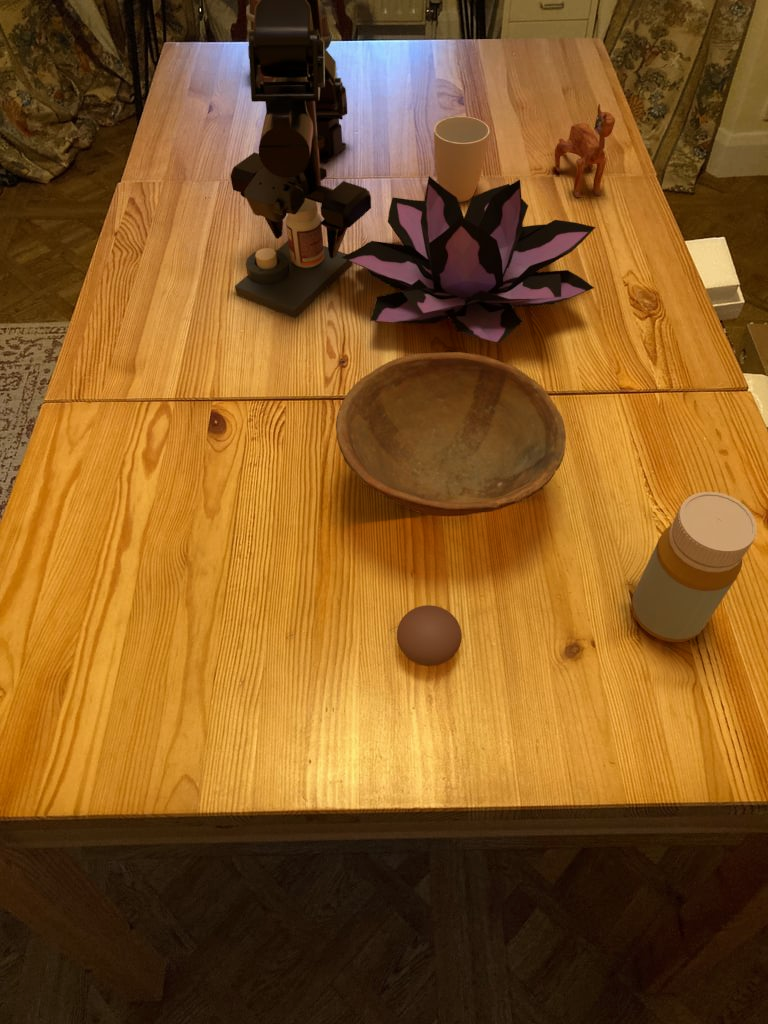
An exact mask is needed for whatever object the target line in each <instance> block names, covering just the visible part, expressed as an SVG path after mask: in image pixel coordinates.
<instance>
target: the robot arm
mask: <svg viewBox="0 0 768 1024" xmlns="http://www.w3.org/2000/svg"><path fill="white" fill-rule="evenodd" d="M320 3H321V0H260V1H259V2H258V4H257V5H256V6H255V14H254V30H251V29H250V30H249V31H248V46H249V56H248V60H249V78H250V98H251V102H253V103H254V102H257V103H258V102H260V103H261V102H262V103H263V102H265V108H266V109H265V115H264V120H263V124H262V128H261V129H262V130H261V134H260V139H259V144H258V152H252V153H251V154H250V155H248V156H247V157H245V158H244V159H243V160H241V161H240V162H239V163H237V164H236V165H234V166H233V167H232V169H231V171H230V175H229V176H230V181H231V188H232V190H233V191H235V192H238V193H240V196H241V197H242V198H244V199H246V201H247V203H248V205H249V207H250V209H251V211H252V214H253V215H255V216H258V217H259V216H260V217H262V218H264V220H265V221H266V223H267V225H268V227H269V229H270V231H271V232H272V234H273V236H274V238H275V239H277V240H279V239H280V238H282V236H283V229H284V219H286V217H287V215H288V213H290V214H293V215H294V214H296V213H297V212H298V210H299V209H300V207H301V206H302V204H303V203H304V201H305V198H306V199H309V200H312V201H315V202H317V204H320V216H321V217H322V218H323V220H321V222H320V223H321V224H322V226H323V227H324V228H326V238H327V247H328V251H329V255H330V258H332V259H333V258H334V257H335V256H336V255H337V253H338V251H340V250H339V249H340V247H341V245H342V243H343V240H344V237H345V235H346V232H347V230H348V229H349V228H351V227H352V226H353V225H354V224H356V222H358V221H359V220H360V219H361V218H362V217H363V216H365V215H366V214H367V212H369V211H370V210H371V209H372V196H371V193H370V191H369V190H368V189H367V188H366V187H363V186H360V185H357V184H354V183H350V182H348V181H345V180H343V181H342V182H341V183H339V184H338V185H337V186H335V187H334V188H331V187H327V186H325V185H322V181H324V179H326V178H327V177H328V173H327V169H326V168H324V167H321V163H322V164H326V163H328V162H330V161H331V160H332V159H333V158H334V157H336V156H337V155H338V154H340V153H342V151H343V150H345V149H346V148H347V144H346V143H345V142H343V130H342V124H340V120H343V118H344V116H346V115H348V97H347V89H346V87H345V86H344V85H343V82H342V77H338V74H337V73H338V72H337V64H336V59H334V58H333V56H332V55H331V53H329V52H328V50H327V49H325V48H324V40H323V29H322V17H321V6H320ZM259 66H260V71H261V74H262V75H263V77H264V78H275V79H274V80H273V82H260V87H258V82H259Z"/></svg>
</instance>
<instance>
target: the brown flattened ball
mask: <svg viewBox="0 0 768 1024" xmlns="http://www.w3.org/2000/svg"><path fill="white" fill-rule="evenodd" d="M462 636H463V634H462V628H461V626H460V623H459V622H458V620H457V618H456V617H455V616H454V615H453V613H451V612H450V611H448V610H447V609H445V608H443V607H440V606H437V605H431V604H429V605H428V604H426V605H420V606H416V607H414V608H412V609H411V610H409V611H407V612H406V614H404V615H403V617H402V618H401V620H400V621H399V623H398V626H397V629H396V642H397V645H398V647H399V650H400V651H401V653H402V654H403V656H405V658H406V659H408V660H409V661H411V662H412V663H414V664H416V665H419V666H423V667H437V666H440V665H443V664H446V663H447V662H449V661H450V660H451V659H453V657H455V655H456V654H457V653H458V651H459V649H460V647H461V645H462V638H463V637H462Z"/></svg>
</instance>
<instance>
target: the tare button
mask: <svg viewBox="0 0 768 1024" xmlns="http://www.w3.org/2000/svg"><path fill="white" fill-rule="evenodd" d="M275 250H276V249H274V248H270V247H263V248H260V249H258V250H257V251H255V252H256V254H255V255H256V262H257V266H258V267H259V268H261V269H270V268H273V267H275V266H276V265H277V256H276V252H275Z"/></svg>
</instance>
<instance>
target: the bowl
mask: <svg viewBox="0 0 768 1024" xmlns="http://www.w3.org/2000/svg"><path fill="white" fill-rule="evenodd" d="M335 432H336V440H337V445H338V447H339V450H340V453H341V456H342V458H343V459H344V461H345V463H346V464H347V465H348V467H349V468H350V469H351V471H352V472H353V473H354V474H355V476H357V478H358V479H359V480H360V481H361V482H363V483H364V484H365V485H366V486H367V487H369V488H370V489H372V490H374V491H375V492H376V493H378V494H380V495H382V496H383V497H385V498H387V499H389V500H391V501H393V502H395V503H397V504H399V505H401V506H402V507H405V508H407V509H409V510H411V511H414V512H417V513H420V514H423V515H427V516H434V517H435V516H437V517H461V516H469V515H475V514H484V513H492V512H495V511H498V510H501V509H504V508H505V509H506V508H508V507H510V506H513V505H515V504H518V503H520V502H522V501H524V500H527V499H530V498H532V497H533V496H535V495H536V494H537V493H538V492H540V491H542V490H543V489H544V487H546V486H547V484H549V482H550V481H551V480H552V478H553V477H554V476H555V474H556V472H557V471H558V470H559V468H560V467H561V464H562V462H563V460H564V456H565V454H566V453H565V452H566V443H567V433H566V432H567V431H566V426H565V423H564V419H563V416H562V414H561V413H560V411H559V409H558V407H557V406H556V405H555V402H553V400H552V398H551V396H550V395H549V393H548V392H547V391H546V389H545V388H544V387H543V386H542V385H541V384H540V383H538V382H537V381H536V380H535V379H533V378H531V377H530V376H529V375H528V374H526V373H525V372H524V371H522V370H520V369H519V368H518V367H516V366H514V365H512V364H509V363H506V362H502V361H501V360H498V359H495V358H492V357H490V356H487V355H486V356H485V355H481V354H476V353H468V352H461V351H460V352H459V351H448V352H447V351H446V352H429V353H427V352H425V353H414V354H413V353H412V354H407V355H404V356H401V357H398V358H395V359H393V360H391V361H388V362H386V363H384V364H382V365H380V366H379V367H377V368H375V369H374V370H373V371H371V372H370V373H368V374H367V375H365V376H364V377H362V378H361V379H360V380H358V381H357V382H356V383H355V384H354V385H353V386H352V388H351V389H350V390H349V391H348V392H347V393H346V395H345V397H344V399H343V401H342V402H341V404H340V407H339V409H338V410H337V415H336V420H335Z"/></svg>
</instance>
